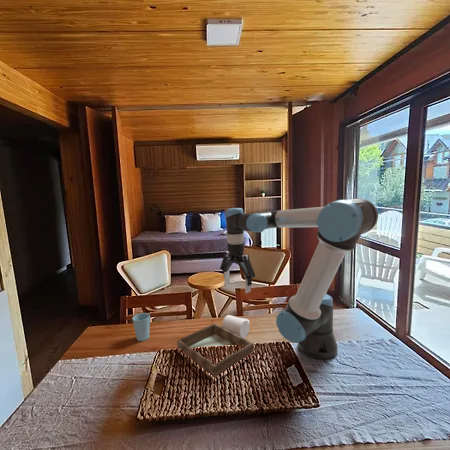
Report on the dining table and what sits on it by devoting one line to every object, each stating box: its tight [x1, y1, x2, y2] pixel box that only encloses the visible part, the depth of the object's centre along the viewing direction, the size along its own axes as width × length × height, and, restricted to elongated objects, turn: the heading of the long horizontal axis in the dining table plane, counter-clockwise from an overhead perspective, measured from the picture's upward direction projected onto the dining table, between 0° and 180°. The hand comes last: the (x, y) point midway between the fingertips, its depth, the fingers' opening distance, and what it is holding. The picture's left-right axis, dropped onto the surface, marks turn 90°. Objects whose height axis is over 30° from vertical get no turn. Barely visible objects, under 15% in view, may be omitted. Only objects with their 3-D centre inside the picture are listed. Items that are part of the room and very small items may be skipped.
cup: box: [131, 312, 151, 342], centre depth 123 cm, size 8×8×10 cm
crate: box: [176, 322, 255, 377], centre depth 108 cm, size 24×20×6 cm
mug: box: [221, 314, 250, 339], centre depth 124 cm, size 12×10×8 cm
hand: (237, 288), depth 122 cm, fingers open, 13 cm apart
